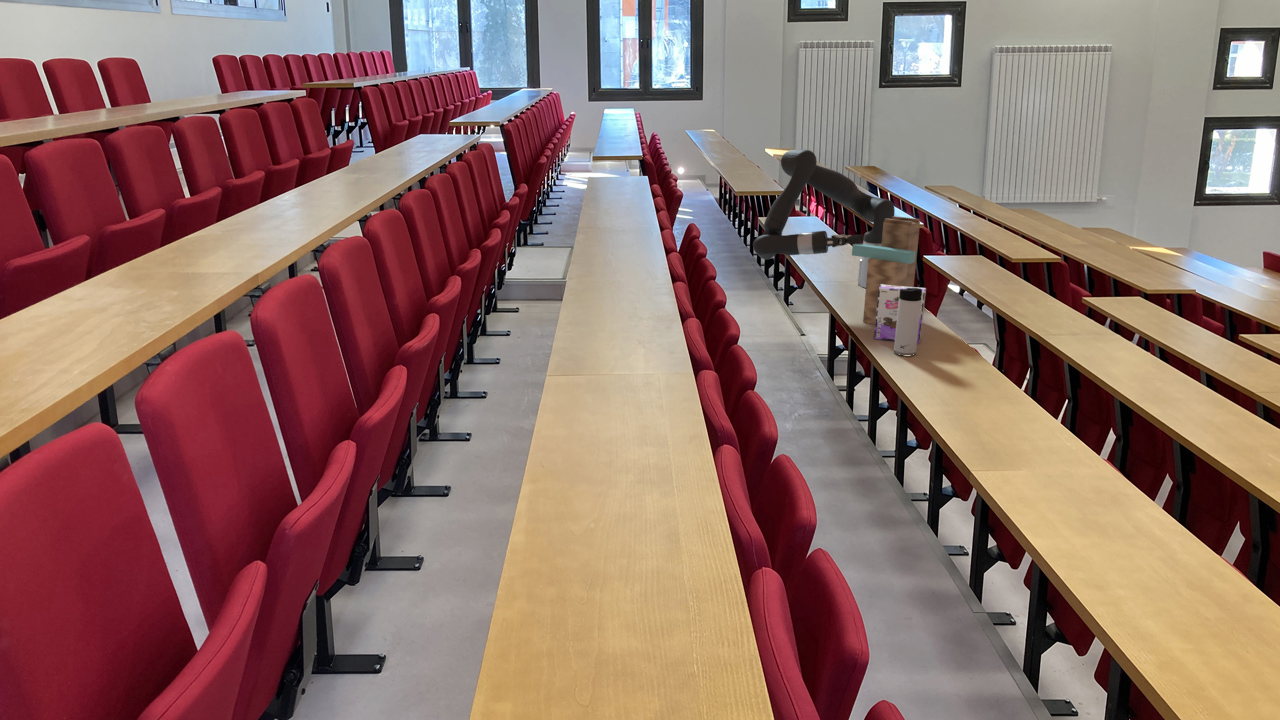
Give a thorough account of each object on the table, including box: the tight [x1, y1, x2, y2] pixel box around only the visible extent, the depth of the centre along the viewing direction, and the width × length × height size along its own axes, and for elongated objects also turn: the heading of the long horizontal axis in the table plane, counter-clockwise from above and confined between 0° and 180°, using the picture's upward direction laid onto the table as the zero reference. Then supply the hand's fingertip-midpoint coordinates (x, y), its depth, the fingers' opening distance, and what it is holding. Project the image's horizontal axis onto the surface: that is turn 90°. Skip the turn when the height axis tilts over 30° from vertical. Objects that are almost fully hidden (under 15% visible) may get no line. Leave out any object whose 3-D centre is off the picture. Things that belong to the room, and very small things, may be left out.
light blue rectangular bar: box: [851, 242, 916, 264], centre depth 293 cm, size 20×4×4 cm, turn 51°
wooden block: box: [862, 258, 908, 325], centre depth 296 cm, size 10×8×21 cm
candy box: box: [873, 284, 927, 344], centre depth 279 cm, size 14×6×16 cm, turn 70°
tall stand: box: [881, 215, 921, 287], centre depth 300 cm, size 9×8×33 cm
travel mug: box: [893, 287, 922, 355], centre depth 265 cm, size 6×7×20 cm
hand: (861, 238), depth 303 cm, fingers open, 8 cm apart
